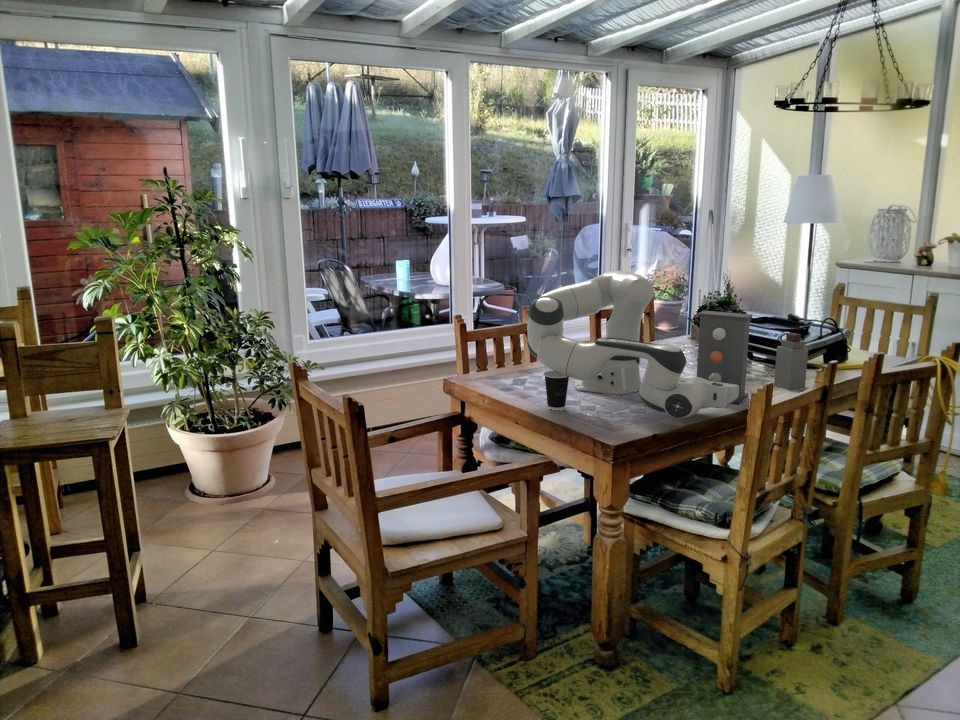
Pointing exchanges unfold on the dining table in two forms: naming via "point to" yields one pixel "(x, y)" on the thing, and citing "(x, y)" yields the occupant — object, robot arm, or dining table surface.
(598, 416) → the dining table surface
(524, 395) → the dining table surface
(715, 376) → the button bottom
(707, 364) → the button column
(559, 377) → the dixie cup
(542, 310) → the robot arm
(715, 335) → the button top
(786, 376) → the perfume bottle
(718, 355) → the button middle
